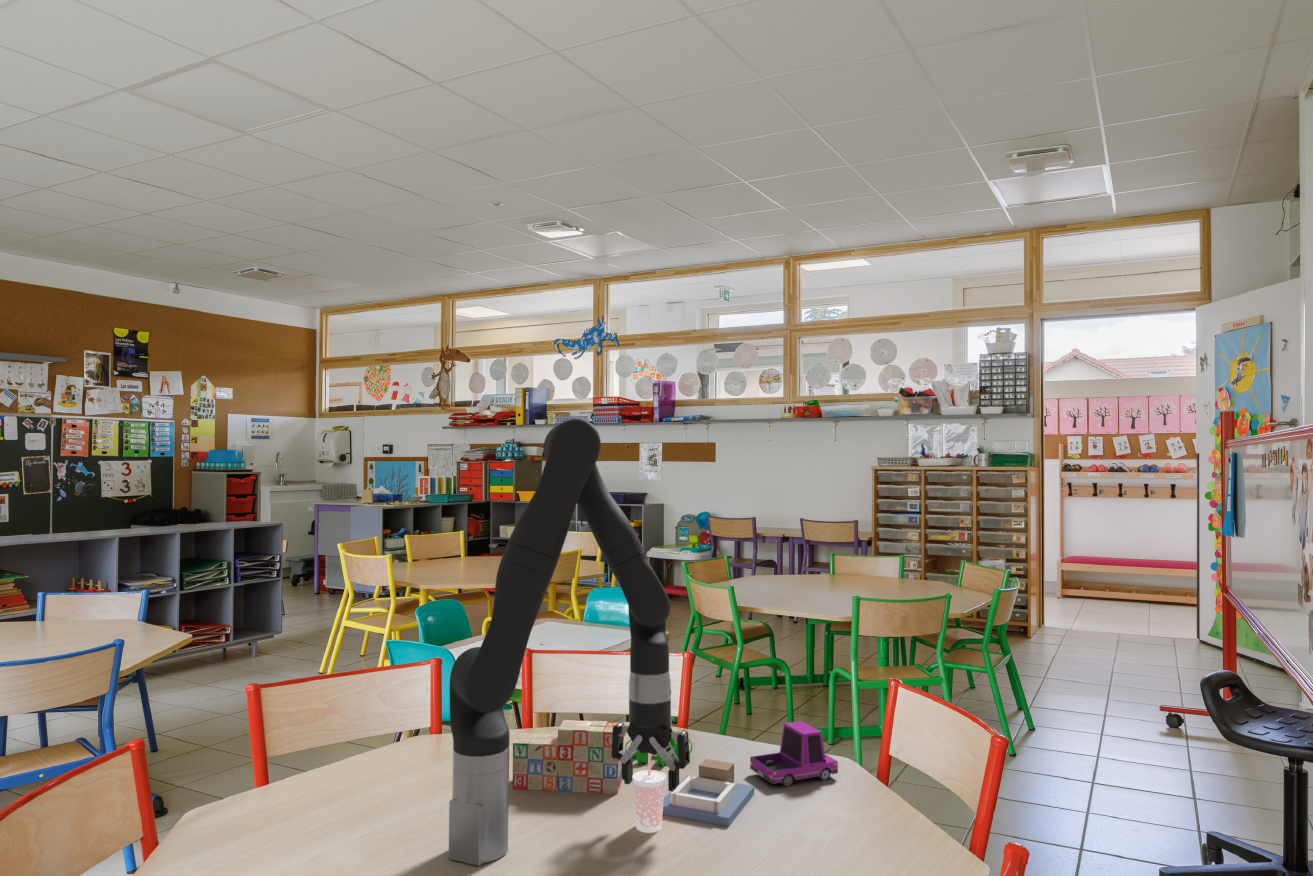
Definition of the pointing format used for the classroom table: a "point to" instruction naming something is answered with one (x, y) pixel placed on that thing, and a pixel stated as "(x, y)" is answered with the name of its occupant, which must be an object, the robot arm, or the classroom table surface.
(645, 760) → the chandelier
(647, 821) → the beverage cup
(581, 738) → the stack of blocks
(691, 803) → the blue square tray
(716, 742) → the classroom table surface
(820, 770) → the toy truck
